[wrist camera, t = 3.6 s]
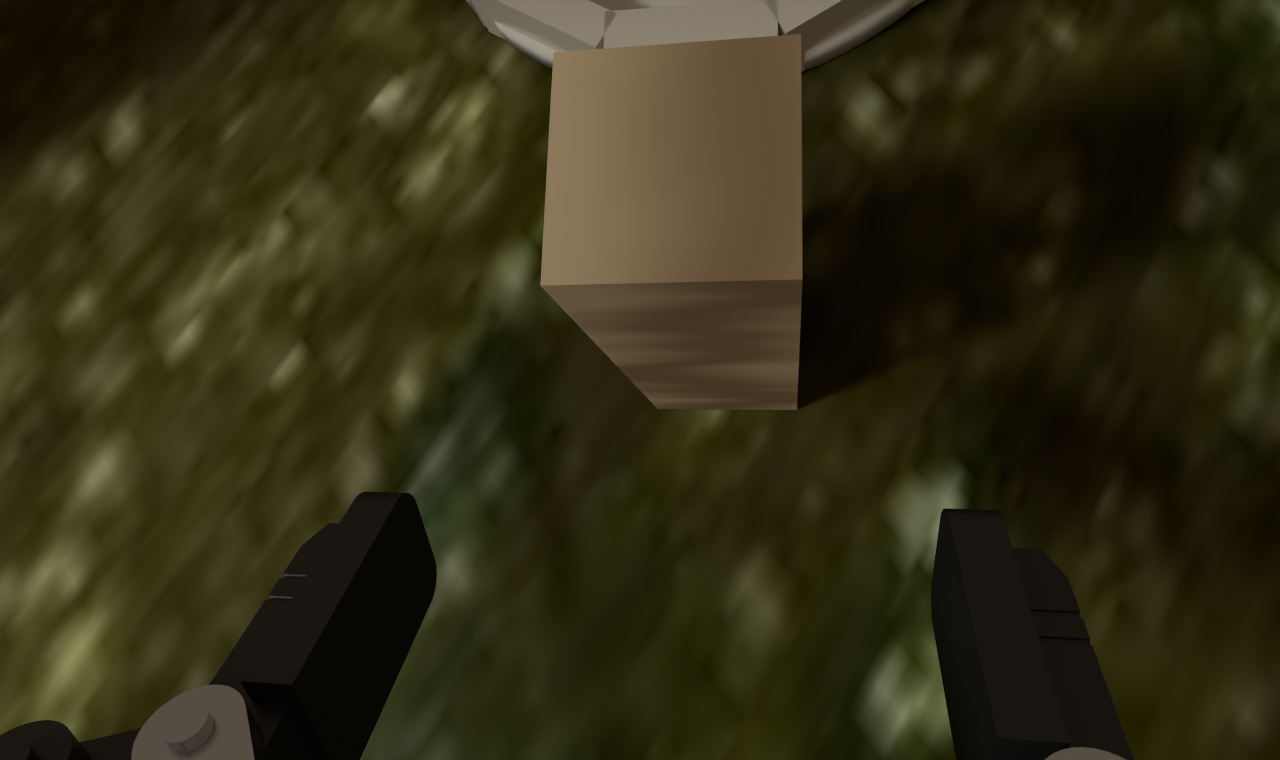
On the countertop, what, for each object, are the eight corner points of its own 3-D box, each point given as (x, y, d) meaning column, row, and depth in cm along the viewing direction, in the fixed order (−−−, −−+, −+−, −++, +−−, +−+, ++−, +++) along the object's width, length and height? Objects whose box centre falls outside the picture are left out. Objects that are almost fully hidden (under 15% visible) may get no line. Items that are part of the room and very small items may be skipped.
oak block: (658, 409, 25) (540, 285, 13) (661, 278, 25) (553, 52, 14) (796, 409, 24) (802, 279, 12) (796, 275, 25) (800, 33, 13)
